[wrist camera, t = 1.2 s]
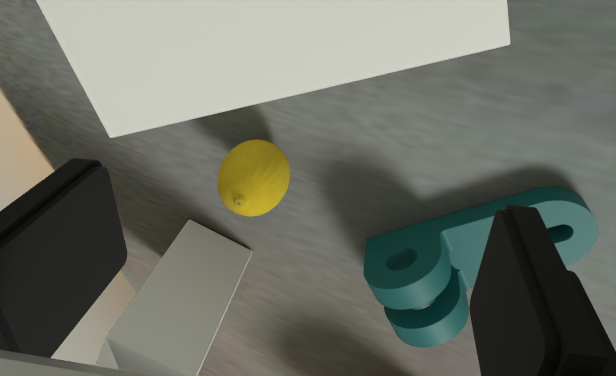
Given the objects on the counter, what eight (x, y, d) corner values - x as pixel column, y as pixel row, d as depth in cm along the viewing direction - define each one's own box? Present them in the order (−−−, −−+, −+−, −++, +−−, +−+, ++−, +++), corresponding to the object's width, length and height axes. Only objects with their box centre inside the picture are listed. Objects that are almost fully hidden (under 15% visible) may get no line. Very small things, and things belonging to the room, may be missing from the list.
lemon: (236, 120, 38) (200, 164, 31) (300, 129, 37) (278, 176, 31) (237, 177, 41) (204, 228, 34) (296, 186, 40) (275, 240, 33)
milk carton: (253, 249, 45) (171, 433, 29) (228, 292, 49) (144, 475, 33) (189, 217, 44) (69, 386, 28) (169, 262, 48) (53, 435, 32)
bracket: (394, 288, 45) (393, 353, 38) (367, 237, 42) (360, 297, 35) (595, 239, 38) (636, 307, 31) (577, 174, 35) (618, 234, 29)
